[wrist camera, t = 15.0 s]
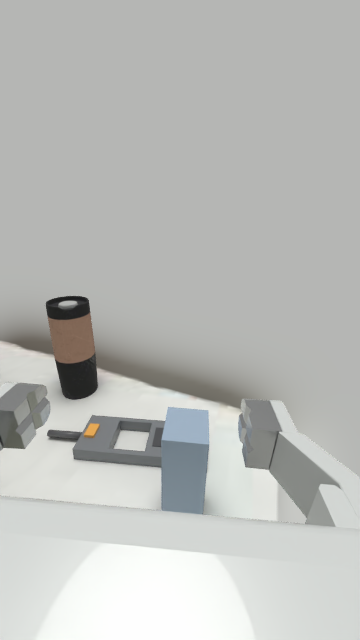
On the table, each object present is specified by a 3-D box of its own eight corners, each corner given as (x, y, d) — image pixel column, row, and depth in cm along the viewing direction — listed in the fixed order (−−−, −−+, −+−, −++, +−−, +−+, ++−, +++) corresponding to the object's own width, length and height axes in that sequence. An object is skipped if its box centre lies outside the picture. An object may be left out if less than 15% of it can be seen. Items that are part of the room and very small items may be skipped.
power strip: (36, 455, 36) (33, 443, 36) (61, 421, 43) (59, 410, 42) (205, 471, 35) (206, 458, 34) (204, 433, 41) (205, 422, 40)
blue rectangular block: (161, 529, 28) (161, 439, 23) (167, 489, 32) (168, 406, 27) (200, 534, 27) (209, 444, 23) (201, 493, 32) (208, 409, 27)
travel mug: (79, 375, 57) (68, 294, 49) (106, 383, 54) (97, 298, 47) (53, 394, 50) (34, 303, 43) (81, 404, 47) (67, 309, 40)
